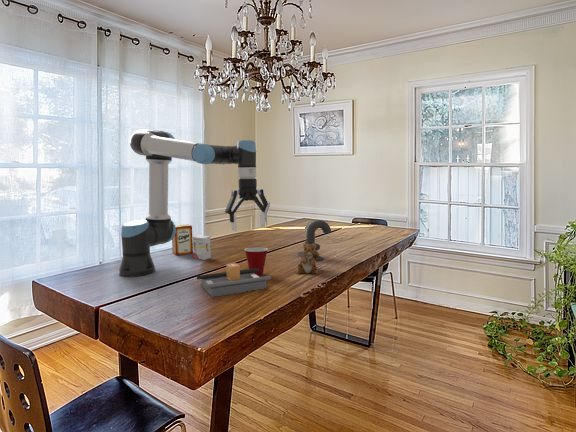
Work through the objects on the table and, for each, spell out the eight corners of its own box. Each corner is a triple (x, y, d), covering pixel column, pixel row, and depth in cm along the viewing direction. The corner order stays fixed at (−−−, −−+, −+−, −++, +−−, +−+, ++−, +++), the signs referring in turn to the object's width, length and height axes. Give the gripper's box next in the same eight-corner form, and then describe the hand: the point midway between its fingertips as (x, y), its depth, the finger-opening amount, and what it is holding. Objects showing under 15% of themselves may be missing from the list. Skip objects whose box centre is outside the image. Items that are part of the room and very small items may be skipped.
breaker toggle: (230, 281, 149) (230, 266, 149) (226, 277, 154) (226, 263, 153) (240, 279, 151) (239, 265, 150) (236, 276, 155) (235, 262, 155)
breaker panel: (211, 297, 141) (211, 288, 140) (201, 285, 155) (201, 277, 155) (266, 288, 150) (266, 280, 150) (252, 278, 165) (251, 271, 164)
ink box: (192, 258, 201) (192, 236, 200) (199, 256, 205) (199, 234, 204) (204, 260, 197) (203, 237, 195) (211, 258, 201) (210, 236, 199)
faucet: (337, 260, 197) (338, 222, 194) (309, 262, 192) (309, 223, 189) (324, 252, 214) (324, 217, 211) (297, 254, 209) (297, 218, 207)
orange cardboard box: (176, 255, 207) (174, 226, 205) (172, 253, 212) (171, 225, 210) (192, 253, 212) (191, 225, 210) (189, 251, 217) (188, 223, 215)
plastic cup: (268, 270, 176) (268, 245, 175) (268, 277, 166) (268, 250, 164) (245, 271, 176) (244, 245, 175) (243, 277, 165) (242, 250, 164)
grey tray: (205, 289, 140) (205, 285, 140) (196, 279, 153) (196, 275, 153) (271, 280, 152) (271, 276, 152) (258, 271, 165) (258, 267, 165)
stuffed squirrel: (295, 274, 170) (295, 245, 169) (299, 266, 184) (299, 239, 182) (317, 275, 169) (318, 246, 167) (320, 267, 183) (320, 240, 181)
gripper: (223, 179, 148) (225, 232, 150) (277, 177, 161) (278, 226, 164) (215, 178, 154) (217, 230, 156) (268, 177, 168) (269, 224, 170)
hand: (248, 228), depth 160 cm, fingers open, 13 cm apart
